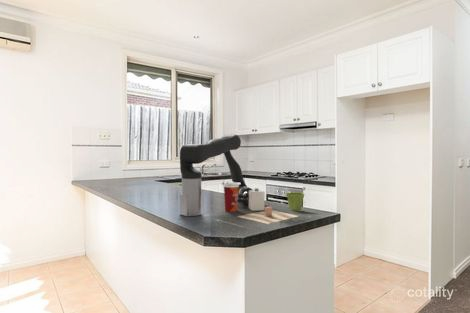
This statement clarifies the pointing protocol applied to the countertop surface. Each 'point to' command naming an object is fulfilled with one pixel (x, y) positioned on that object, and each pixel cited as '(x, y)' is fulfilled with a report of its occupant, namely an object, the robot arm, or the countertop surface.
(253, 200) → the white upright block
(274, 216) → the board
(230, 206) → the paper cup
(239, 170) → the robot arm
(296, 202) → the plant pot
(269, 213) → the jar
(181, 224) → the countertop surface
